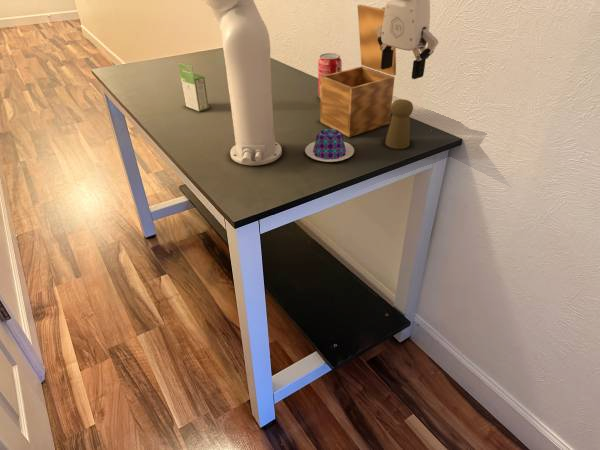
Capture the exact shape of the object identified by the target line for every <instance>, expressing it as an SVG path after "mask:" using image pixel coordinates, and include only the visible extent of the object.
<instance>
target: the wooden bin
mask: <svg viewBox="0 0 600 450" xmlns="http://www.w3.org/2000/svg"><path fill="white" fill-rule="evenodd" d="M394 87H395V76H393V75H390V74H387V73H384V72H381V71H378V70H375V69H372V68H369V67H366V66H363V65H361V66H358V67H354V68H349V69H345V70H341V72H337V73H333V74H328V75H324V76H321V99H320V118H319V119H320V123H321V124H322V125H325V126H327V127H329V128H330V129H337V130H338V131H340V132H341V133H342V135H344V136H346V137H347V138H352V137H354V136H357V135H360V134H364V133H366V132H369V131H372V130H376V129H378V128H381V127H383V126H387V125H390V122H391V114H392V112H391V105H392V103H393V97H394Z"/></svg>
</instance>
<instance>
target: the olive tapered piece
mask: <svg viewBox="0 0 600 450" xmlns="http://www.w3.org/2000/svg"><path fill="white" fill-rule="evenodd" d="M413 111H414V105H413V102H412V101H410V100H408V99H405V98H404V99H395V100H394V101H392V105H391V114H392V116H391V117H390V123H389V126H388V130H387V134H386V138H385V142H384V144H385V146H387V147H389V148H391V149H396V150H402V149H406V148H409V147H410V143H411V142H410V141H411V140H410V138H411V137H410V133H411V132H410V129H411V128H410V124H411V122H410V119H411V117H410V116H411V114H412V113H413Z"/></svg>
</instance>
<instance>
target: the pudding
mask: <svg viewBox="0 0 600 450" xmlns="http://www.w3.org/2000/svg"><path fill="white" fill-rule="evenodd" d="M343 135H344V134H342V133H341V132H340V131H338V130H337V129H332V128H326V129H325V128H324V129H321V130H320V131H318V133H317V134H316V136H315V137H316V138H315V141H313V142H311V143H309V144H308V145H307V146H306V147H305V149H304V153H305V154H306V156H307V157H310V158H311V159H313V160H315V161H319V162H326V163H333V162H341V161H344V160H346V159H349V158H350V157H352V156H353V155H354V153H355V148H354V147H353V145H352V144H350V143H348V142H346V141H345V140H344V136H343Z"/></svg>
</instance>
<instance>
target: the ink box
mask: <svg viewBox="0 0 600 450" xmlns="http://www.w3.org/2000/svg"><path fill="white" fill-rule="evenodd" d="M177 64H178V68H179V74H180V81H181V86H182V91H183V96H184V101H185V107H187V108H190V109H192V110H194V111H197V112H203V111H206V110H208V109H209V108H210V107H209V100H208V92H207V85H206V79H205V76H204V75H201V74H198V73H194V69H193V66H192V65H188V64H185V63H181V62H178V63H177ZM183 68H186V69H187V70H189V71H186V70H183Z"/></svg>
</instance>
